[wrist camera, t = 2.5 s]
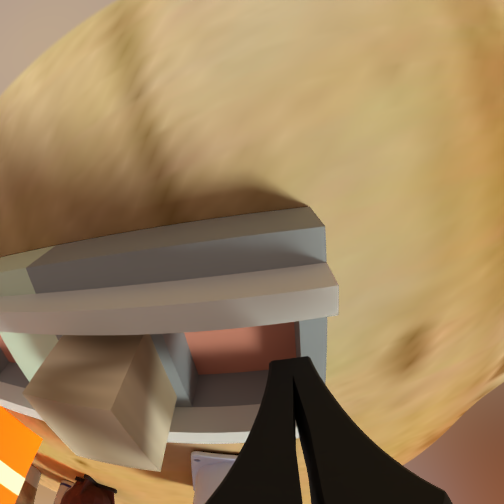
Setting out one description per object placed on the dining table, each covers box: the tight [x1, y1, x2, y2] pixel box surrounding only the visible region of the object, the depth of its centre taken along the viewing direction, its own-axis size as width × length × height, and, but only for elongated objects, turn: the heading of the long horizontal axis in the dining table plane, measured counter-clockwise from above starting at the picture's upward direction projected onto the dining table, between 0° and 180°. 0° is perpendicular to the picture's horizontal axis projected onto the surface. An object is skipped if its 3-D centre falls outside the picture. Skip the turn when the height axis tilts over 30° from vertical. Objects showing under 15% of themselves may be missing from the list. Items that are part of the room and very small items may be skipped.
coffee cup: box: [15, 465, 41, 504], centre depth 19 cm, size 8×8×15 cm
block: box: [22, 334, 177, 472], centre depth 9 cm, size 4×4×4 cm
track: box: [0, 207, 339, 444], centre depth 12 cm, size 22×10×4 cm, turn 98°
